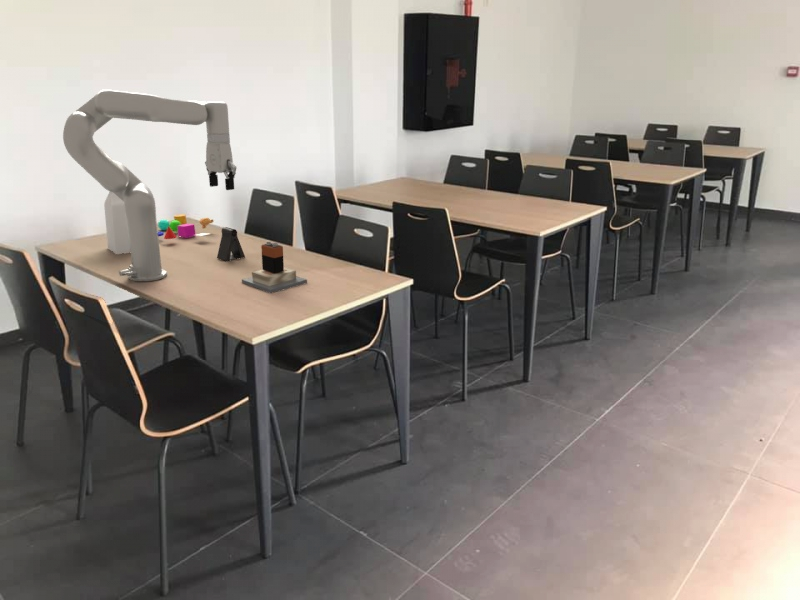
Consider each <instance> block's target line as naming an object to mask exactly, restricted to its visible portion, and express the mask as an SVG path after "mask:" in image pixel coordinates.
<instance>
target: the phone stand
mask: <svg viewBox="0 0 800 600" xmlns="http://www.w3.org/2000/svg"><path fill="white" fill-rule="evenodd" d="M217 251H218V252H217V256H216V258H218V259H217V260H220V259H221V261H223V260H224V262H226V261H227V262H230V260H231V261H235V260H240V259H244V258H245V257H246V254H245V253H244V250H243V248H242V244H241V242H240V241H239V237H238V231H237V230H236V229H235V228H231V227H227V226H225V227H224V226H223V227H222V228H221V238H220V243H219V247H218V250H217ZM243 257H244V258H243ZM239 258H240V259H239Z"/></svg>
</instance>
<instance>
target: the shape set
mask: <svg viewBox="0 0 800 600" xmlns="http://www.w3.org/2000/svg"><path fill="white" fill-rule="evenodd" d="M173 219H174V220H172V221H168V220H167V219H163V218H162V219H160V220H159V221H158V223H157V227H158V228H159V230H161V229H162V230H161V231H158V238H159V237H161V236H162V237H164V238H163V239H164V240H171V239H172V240H173V239H176V238H177V235H178V237H179V236H181V237H185V238H184V239H188V238H187V237H189V238H193V237H192V236H194V237H197V236H198V237H202V236H207V235H210V233H208V232H207V233H206V232H201V233H197V232H196V227H195V224H191V223H188V222H187V215H186V214H177V215H173ZM213 223H215V222H214V219H211V218H209V217H203V218H200V220H199V224H200V225H201V226H202V227H201V228H202V229H207V226H209V225H210V224H213ZM166 229H167V230H166ZM163 231H166V232H165V233H164V232H163ZM175 232H177V235H176V233H175ZM181 237H180V238H181Z"/></svg>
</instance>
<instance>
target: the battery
mask: <svg viewBox="0 0 800 600" xmlns="http://www.w3.org/2000/svg"><path fill="white" fill-rule="evenodd" d="M260 248H261V265H262V270H265V271H268V272H271V273H279V272H282V271H284V267H285V266H284V247H283V245H279V243H278V242H273V243H272V242H271V241H266V243H265V244H262V245H261V247H260Z"/></svg>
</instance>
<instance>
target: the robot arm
mask: <svg viewBox="0 0 800 600" xmlns="http://www.w3.org/2000/svg"><path fill="white" fill-rule="evenodd" d="M112 119H121V120H122V119H123V120H124V119H125V120H134V121H135V120H136V121H143V122H144V121H145V122H152V123H153V122H154V123H169V124H179V125H190V126H199V125H202V124H204V123H205V125H206V139H207V142H206V146H205V159H206V160H205V162H204V164H205V167H206V171H207V175H208V182H209V187H211V188H212V187H218V186H219V177H218V174H217V173H219V174H222V173H223V174H224V177H225V179H224V183H225V190H226V191H231V190H235V177H236V174H237V173H236V171H237V165H235V164H234V161H233V154H232V153H233V152H232V146H231V141H230V140H231V139H230V125H229V124H230V122H229V107H228V104H227V103H226V102H225V101H216V100H214V101H212V100H211V101H207V102H206V101H199V100H193V99H192V100H181V99H171V98H166V97H161V96H157V95H156V94H155V95H154V94H149V93H142V92H141V93H140V92H128V91H120V90H112V89H106V88H105V89H102V90H100V91H98V92H97V94H95V95H93V97H91V99H89V100H88V101H86V102H85V103H84V104H82V106H80V107H79V108H78V109H76V110H75V111H74V112H72V113H71V114H70V115H69V116H67V118H66V121H65V123H64V127H63V131H62V132H63V133H62V139H63V145H64V147H65V150H66V152H67V153H68V154H69V155H70V157H71V158H72V159H73V160H74V161H75V162H76V163H77V164H79V166H81V168H82V169H83V170H85V172H86V173H88V174H89V175H90V176H91V177H92V178H93V179H94V180H95V181H96V182H97V183H99V185H101V187H102V188H103V189H105V191H106V190H107V191H108V192H109V191H110V192H113V193H114V194H116V195H117V196H118V197H119V198H120V199H121V200H122V201H123V202H124V205H125V212H126V219H127V228H128V235H129V243H130V251H131V253H130V257H131V259H130V260H131V264H130V265H129V266H128V268H127V269H123V270H122V269H121V270H119V271H118V274H119V277H122V276H123V277H125V276H127V277H128V279H129V280H130V281H135V282H153V281H158V280H162V279H164V278H165V277H167V274H168V273H167V270H165V269H162V268H163V267H162V259H161V252H160V241H159V237H158V232H159V231H158V223H157V211H156V210H157V209H156V208H157V207H156V200H155V197H154V194H153V192H152V191H151V189H150V188H149V187H148V186H147V185H146V184H145V183H144V182H143V181H142V180H140V178H138V177H137V176H136V174H135V173H133V172H132V171H131V170H130V169H129V168H128V167H127V166H125V165H124V163H121V162H120V161H116V160H113V158H111V157H110V156H109V155H108V154H107V153H106V152H105V151H104V150H103V149H102V148H100V147H99V146H98V145H97V143H96V142H95V141H94V135H95V133H96V132H97V131H98V130H100V129H101V128H102V127H103V126H105V125H106V124H108V122H110V121H111V120H112Z"/></svg>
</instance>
